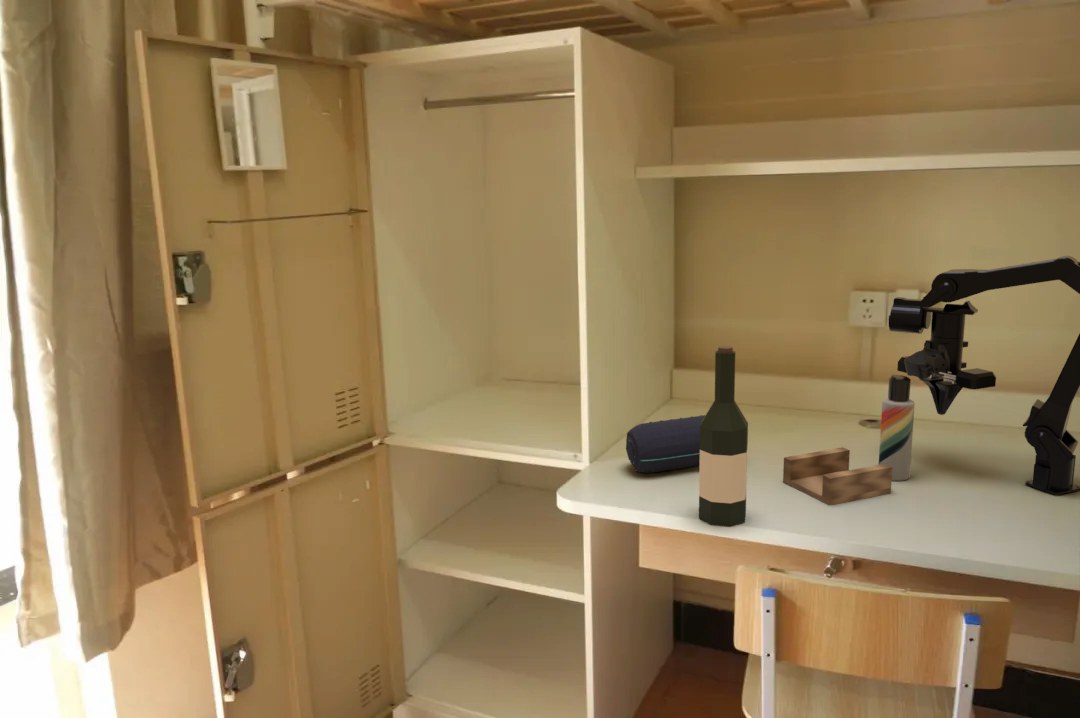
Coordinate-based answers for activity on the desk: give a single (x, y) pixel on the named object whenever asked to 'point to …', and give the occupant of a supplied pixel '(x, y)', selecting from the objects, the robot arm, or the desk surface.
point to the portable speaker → (665, 444)
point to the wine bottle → (723, 450)
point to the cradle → (835, 476)
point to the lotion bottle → (897, 428)
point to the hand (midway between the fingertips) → (941, 414)
